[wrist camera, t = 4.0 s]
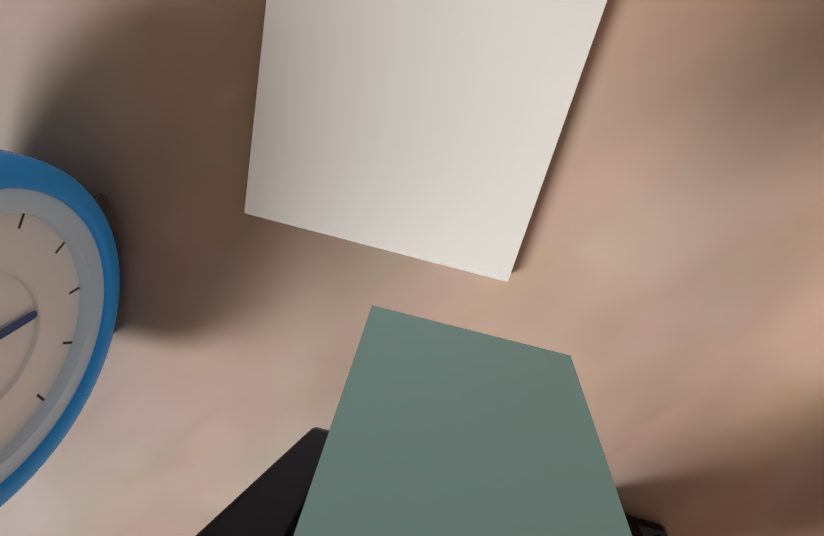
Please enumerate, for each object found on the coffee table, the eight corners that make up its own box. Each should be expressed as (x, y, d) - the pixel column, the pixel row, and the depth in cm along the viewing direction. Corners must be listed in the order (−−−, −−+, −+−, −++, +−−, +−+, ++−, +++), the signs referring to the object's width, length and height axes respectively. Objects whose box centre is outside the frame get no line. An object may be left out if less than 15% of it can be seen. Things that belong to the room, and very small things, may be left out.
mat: (506, 275, 21) (507, 282, 20) (250, 209, 21) (244, 213, 20) (678, -215, 14) (686, -227, 14) (306, -314, 14) (300, -328, 14)
